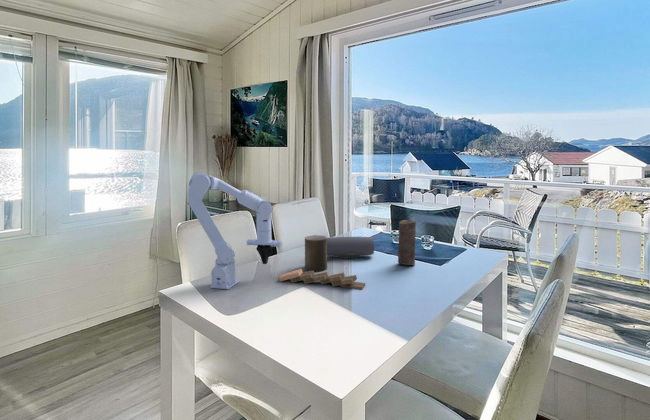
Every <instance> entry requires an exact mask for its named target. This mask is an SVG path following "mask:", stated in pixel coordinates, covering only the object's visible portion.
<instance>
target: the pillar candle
mask: <svg viewBox="0 0 650 420" xmlns="http://www.w3.org/2000/svg"><path fill="white" fill-rule="evenodd" d="M327 238H328V237H327V236H325V235H317V234H315V235H309V236H304V269H305V271H306V270H307V271H308V272H309V271H314V272H322V271H323V272H324V271H326V270H327V269H328V256H327Z"/></svg>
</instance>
